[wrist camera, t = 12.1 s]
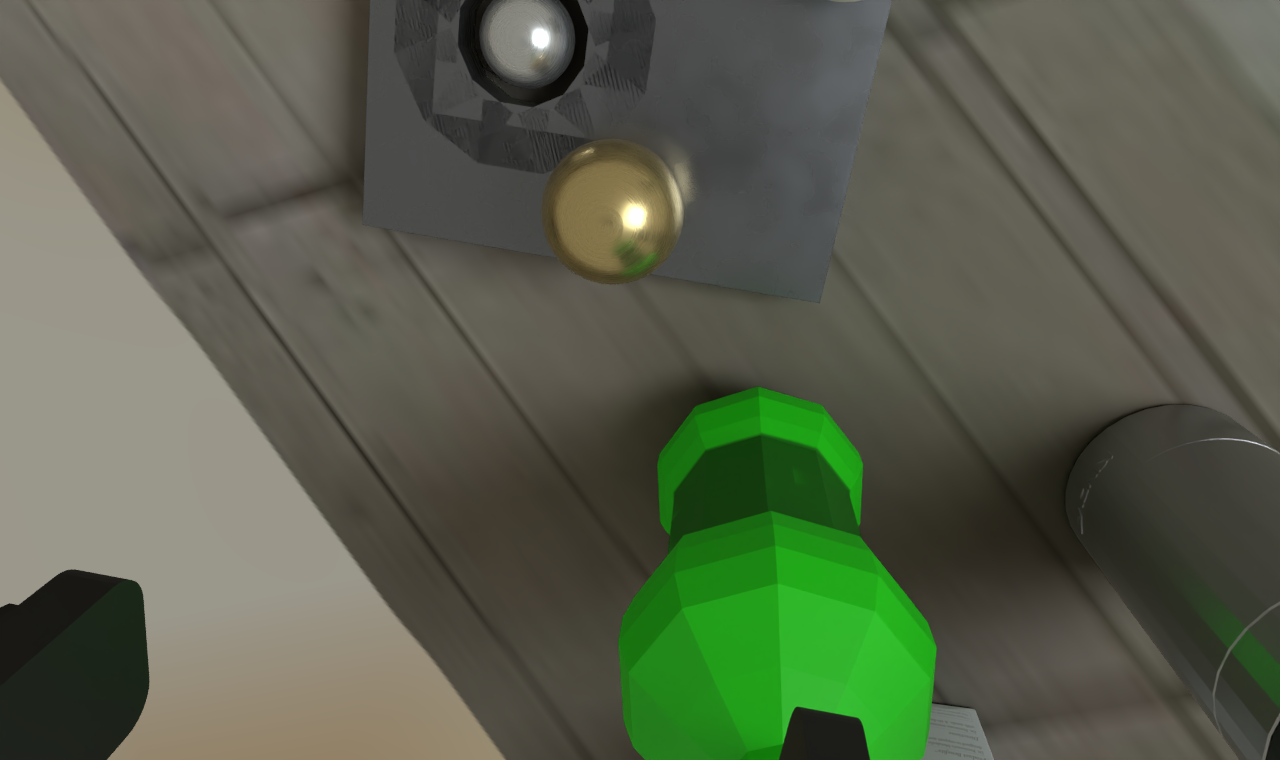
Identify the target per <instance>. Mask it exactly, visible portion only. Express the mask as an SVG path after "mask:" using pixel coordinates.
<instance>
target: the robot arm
mask: <svg viewBox="0 0 1280 760" xmlns="http://www.w3.org/2000/svg"><path fill="white" fill-rule="evenodd" d="M1066 512H1067V516H1068V520H1069V523H1070V525H1071V527H1072V529H1073V531H1074V533H1075V534H1076V536H1077V538H1078V539H1079V541H1080V542H1081V543H1082V545H1083V546H1084V548H1085V549H1086V550H1087V552H1088V553H1089V554H1090V556H1091V557H1092V559H1093V560H1094V561H1095V563H1096V564H1097V565H1098V567H1099V568H1100V570H1101V571H1102V572H1103V574H1104V575H1105V576H1106V578H1107V580H1108V581H1109V582H1110V584H1111V585H1112V587H1113V588H1114V589H1115V591H1116V592H1117V593H1118V595H1119V596H1120V598H1121V599H1122V600H1123V602H1124V603H1125V604H1126V606H1127V607H1128V608H1129V610H1130V611H1131V613H1132V614H1133V615H1134V617H1135V618H1136V619H1137V621H1138V622H1139V623H1140V625H1141V626H1142V628H1143V629H1144V630H1145V632H1146V633H1147V634H1148V636H1149V637H1150V638H1151V640H1152V641H1153V643H1154V644H1155V645H1156V647H1157V648H1158V649H1159V651H1160V652H1161V654H1162V655H1163V656H1164V658H1165V659H1166V660H1167V662H1168V663H1169V664H1170V666H1171V667H1172V669H1173V670H1174V671H1175V673H1176V674H1177V675H1178V677H1179V678H1180V679H1181V681H1182V682H1183V684H1184V685H1185V686H1186V688H1187V689H1188V690H1189V692H1190V693H1191V695H1192V696H1193V697H1194V699H1195V700H1196V701H1197V703H1198V704H1199V705H1200V707H1201V708H1202V710H1203V711H1204V712H1205V714H1206V715H1207V716H1208V718H1209V719H1210V720H1211V722H1212V723H1213V725H1214V726H1215V727H1216V729H1217V730H1218V731H1219V733H1220V734H1221V735H1222V737H1223V738H1224V740H1225V741H1226V742H1227V744H1228V745H1229V746H1230V748H1231V749H1232V750H1233V752H1234V753H1235V754H1236V755H1237V757H1238V758H1239V760H1280V451H1278V450H1275V449H1274V448H1272V447H1271V446H1269V445H1268V444H1267V443H1265V442H1264V441H1262V440H1261V439H1260V438H1258V437H1257V436H1255V435H1254V434H1252V433H1251V432H1250V431H1248V430H1247V429H1245V428H1244V427H1243V426H1241V425H1240V424H1238V423H1237V422H1235V421H1234V420H1233V419H1231V418H1230V417H1229V416H1227V415H1224V414H1222V413H1219V412H1217V411H1214V410H1212V409H1209V408H1204V407H1199V406H1193V405H1165V406H1160V407H1155V408H1150V409H1145V410H1143V411H1140V412H1137V413H1135V414H1132V415H1129V416H1127V417H1125V418H1123V419H1121V420H1119V421H1118V422H1116V423H1114V424H1113V425H1111V426H1109V427H1108V428H1106V429H1105V430H1104V431H1103V432H1102V433H1100V434H1099V435H1098V436H1097V437H1096V438H1095V439H1093V440H1092V441H1091V442H1090V443H1089V445H1088V446H1087V447H1086V448H1085V450H1084V451H1083V452H1082V453H1081V455H1080V456H1079V457H1078V459H1077V461H1076V463H1075V465H1074V467H1073V469H1072V471H1071V473H1070V476H1069V480H1068V484H1067V487H1066ZM148 689H149V667H148V655H147V640H146V627H145V614H144V600H143V593H142V590H141V587H140V586H139V584H138V583H137V582H135V581H132V580H128V579H122V578H117V577H111V576H107V575H101V574H96V573H90V572H85V571H80V570H67V571H64V572H62V573H60V574H58V575H57V576H55V577H54V578H53V579H52V580H50V581H49V582H48V583H46V584H45V585H44V586H42V587H41V588H40V589H39V590H37V591H36V592H35V593H34V594H32V595H31V596H30V597H28V598H27V599H26V600H25V601H23V602H22V603H21V604H19V605H15V604H7V605H5V606H3V607H1V608H0V760H107V759H108V758H109V756H110V755H111V754H112V753H113V752H114V751H115V750H116V748H117V747H118V746H119V745H120V744H121V743H122V742H123V740H124V739H125V738H126V737H127V736H128V734H129V733H130V732H131V730H132V729H133V727H134V726H135V724H136V722H137V721H138V719H139V717H140V715H141V713H142V710H143V708H144V705H145V702H146V699H147V695H148ZM779 760H870V757H869V752H868V747H867V742H866V737H865V732H864V728H863V725H862V722H861V720H860V719H859V718H857V717H852V716H846V715H841V714H835V713H830V712H825V711H819V710H814V709H809V708H803V707H796V708H795V709H794V710H793V713H792V715H791V718H790V721H789V725H788V728H787V732H786V736H785V739H784V743H783V747H782V750H781V754H780V757H779Z"/></svg>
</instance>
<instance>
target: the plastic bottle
mask: <svg viewBox="0 0 1280 760" xmlns="http://www.w3.org/2000/svg"><path fill="white" fill-rule="evenodd" d="M657 466H658V488H659V510H660V523H661V525H662V526H663V527H664V529H665V530H666V532H667V533H668V534H669V535H670V539H669V548H668V555H667V557H666V558H665V559H664V560H663V562H662V563H661V564H660V565H659V567H658V568H657V569H656V570H655V572H654V573H653V574H652V575H651V577H650V578H649V579H648V580H647V582H646V583H645V584H644V585H643V587H642V588H641V589H640V590H639V592H638V593H637V594H636V595H635V596H634V598H633V600H632V602H631V604H630V605H629V607H628V609H627V611H626V612H625V614H624V616H623V618H622V624H621V629H620V635H619V641H618V645H619V660H620V674H621V689H622V703H623V718H624V724H625V726H626V729H627V732H628V735H629V737H630V740H631V743H632V745H633V748H634V749H635V750H636V751H637V752H638V753H639V754H640V755H641V756H642V757H643V758H644V759H645V760H779V757H780V754H781V750H782V747H783V743H784V739H785V736H786V732H787V728H788V725H789V721H790V718H791V715H792V713H793V710H794V709H795V708H796V707H803V708H809V709H814V710H819V711H825V712H830V713H835V714H841V715H846V716H852V717H857V718H859V719H860V720H861V722H862V725H863V728H864V732H865V737H866V742H867V747H868V752H869V757H870V760H921V759H922V758H923V757H924V753H925V749H926V744H927V739H928V734H929V729H930V718H931V707H932V695H933V684H934V673H935V662H936V651H937V647H936V644H935V641H934V639H933V636H932V633H931V630H930V628H929V625H928V622H927V621H926V619H925V618H924V617H923V616H922V614H921V613H920V612H919V610H918V609H917V608H916V606H915V605H914V604H913V602H912V601H911V600H910V599H909V597H908V596H907V595H906V594H905V592H904V591H903V590H902V589H901V587H900V586H899V585H898V584H897V582H896V581H895V580H894V579H893V577H892V576H891V575H890V574H889V572H888V571H887V570H886V569H885V567H884V566H883V565H882V564H881V562H880V561H879V560H878V559H877V557H876V556H875V555H874V554H873V552H872V551H871V550H870V549H869V547H868V546H867V545H866V544H865V542H864V541H863V540H862V538H861V534H860V531H859V525H860V517H861V496H862V475H863V463H862V460H861V457H860V454H859V452H858V451H857V450H856V449H855V447H854V446H853V445H852V443H851V442H850V441H849V440H848V438H847V437H846V436H845V434H844V433H843V432H842V431H841V429H840V428H839V427H838V425H837V424H836V423H835V422H834V420H833V419H832V418H831V416H830V415H829V414H828V412H827V411H826V410H825V409H824V407H823V406H822V405H820V404H817V403H813V402H810V401H806V400H803V399H799V398H796V397H792V396H789V395H785V394H782V393H778V392H775V391H771V390H768V389H765V388H761V387H754V388H751V389H748V390H745V391H741V392H738V393H735V394H732V395H729V396H725V397H722V398H719V399H716V400H712V401H709V402H706V403H703V404H700V405H697V406H695V407H694V409H693V410H692V411H691V413H690V414H689V415H688V417H687V418H686V419H685V421H684V422H683V423H682V425H681V426H680V427H679V429H678V430H677V431H676V433H675V434H674V435H673V437H672V438H671V439H670V441H669V442H668V443H667V444H666V446H665V447H664V448H663V450H662V451H661V452H660V454H659V459H658V465H657Z"/></svg>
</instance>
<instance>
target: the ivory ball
mask: <svg viewBox="0 0 1280 760" xmlns="http://www.w3.org/2000/svg"><path fill="white" fill-rule="evenodd" d="M830 1H834V2H856V1H862V0H830Z"/></svg>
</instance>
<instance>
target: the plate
mask: <svg viewBox="0 0 1280 760" xmlns="http://www.w3.org/2000/svg"><path fill="white" fill-rule="evenodd" d="M482 1H483V0H370V16H369V46H368V77H367V108H366V138H365V169H364V200H363V225H367V226H373V227H379V228H385V229H391V230H396V231H402V232H408V233H414V234H420V235H425V236H431V237H437V238H443V239H449V240H455V241H460V242H466V243H472V244H478V245H484V246H489V247H495V248H501V249H507V250H513V251H519V252H524V253H530V254H536V255H542V256H548V257H554V258H557V257H556V255H555V254H554V252H553V251H552V249H551V248H550V246H549V244H548V242H547V239H546V237H545V234H544V231H543V226H542V219H541V202H542V196H543V192H544V189H545V185H546V183H547V181H548V179H549V177H550V175H551V173H552V172H553V170H554V169H555V167H556V166H557V165H558V164H559V163H560V161H561V160H562V159H563V158H564V157H566V156H567V155H568V154H569V153H570V152H572V151H573V150H575V149H576V148H578V147H580V146H582V145H584V144H587V143H590V142H593V141H598V140H603V139H621V140H627V141H631V142H634V143H637V144H640V145H642V146H644V147H646V148H648V149H649V150H651V151H652V152H654V153H655V154H656V155H658V156H659V157H660V158H661V159H662V160H663V161H664V162H665V163H666V164H667V166H668V167H669V168H670V169H671V171H672V173H673V174H674V176H675V178H676V180H677V182H678V185H679V187H680V190H681V194H682V199H683V206H684V218H683V226H682V230H681V234H680V237H679V239H678V242H677V244H676V246H675V248H674V249H673V251H672V253H671V254H670V255H669V257H668V258H667V260H666V261H665V262H664V263H663V264H662V265H661V266H660V267H658V268H657V269H656V270H655V271H653V272H652V273H650V274H652V275H658V276H664V277H670V278H676V279H682V280H687V281H693V282H699V283H705V284H711V285H716V286H722V287H728V288H734V289H740V290H746V291H751V292H757V293H763V294H769V295H775V296H780V297H786V298H792V299H798V300H804V301H810V302H815V303H820V300H821V296H822V292H823V288H824V283H825V279H826V275H827V271H828V267H829V262H830V258H831V254H832V250H833V246H834V242H835V237H836V233H837V229H838V225H839V221H840V216H841V212H842V208H843V204H844V200H845V195H846V191H847V187H848V183H849V179H850V174H851V170H852V166H853V162H854V158H855V153H856V149H857V145H858V141H859V137H860V132H861V128H862V124H863V120H864V116H865V111H866V107H867V103H868V99H869V95H870V90H871V86H872V82H873V78H874V74H875V69H876V65H877V61H878V57H879V53H880V48H881V44H882V40H883V36H884V32H885V27H886V23H887V19H888V15H889V11H890V6H891V2H892V0H862V1H856V2H834V1H830V0H578V2H579V5H580V7H581V10H582V13H583V15H584V18H585V21H586V23H587V26H588V29H589V31H588V39H587V47H586V56H585V64H584V67H583V68H582V70H581V71H580V73H579V74H578V75H577V77H576V78H575V80H574V81H573V82H572V84H571V85H570V86H569V88H568V89H567V91H566V92H565V93H564V95H561V96H559V97H557V98H554V99H552V100H549V101H547V102H545V103H542V104H540V103H534V102H528V101H522V100H516V99H512V98H511V97H510V96H509V95H508V94H506V93H505V92H504V91H503V90H501V89H500V88H499V87H498V86H497V85H495V84H494V83H493V82H492V81H491V80H489V79H488V78H487V76H486V74H485V71H484V69H483V67H482V64H481V62H480V59H479V57H478V55H477V52H476V50H475V48H474V35H475V22H476V10H477V9H478V7H479V6H480V4H481V3H482Z"/></svg>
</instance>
